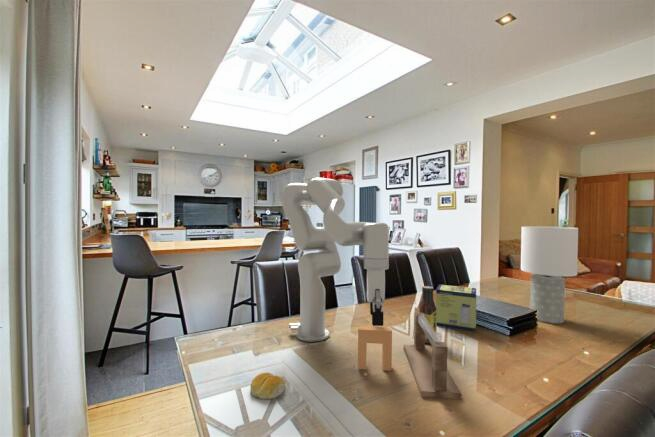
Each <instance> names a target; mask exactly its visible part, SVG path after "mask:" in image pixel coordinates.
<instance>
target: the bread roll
mask: <svg viewBox="0 0 655 437" xmlns="http://www.w3.org/2000/svg"><path fill="white" fill-rule="evenodd" d="M285 389H286V382H285V380H284V378H283V377H281V376H279V375H277V374H276V375H274V374H272V373H270V372H262V373H260V374H258V375H255V377H254V378H253V379H252V381H251V384H250V392H251V394H252V395H253V396H254V397H256V398H260V399H261V400H273V399H276V398H277V397H279V396H280V395H282V394H283V393H284V391H285Z"/></svg>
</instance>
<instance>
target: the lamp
mask: <svg viewBox="0 0 655 437" xmlns="http://www.w3.org/2000/svg"><path fill="white" fill-rule="evenodd" d="M520 234H521V236H520V239H521V240H520V270H521V272H525V273H529V274H532V275H531V276H530V287H529V290H530V292H529V293H530V294H529V296H530V297H529V301H530V302H529V310H530V309H533V310H537V319H538V321H539V322H541V323H545V324H546V323H547V324H554V325H555V324H556V325H560V324H561V325H562V324H563V323H564V322H565V304H566V303H565V298H566V297H565V295H566V279H565V278H564V277H576V276H578V252H579V227H569V226H567V227H566V226H545V225H544V226H541V225H540V226H539V225H538V226H535V225H533V226H531V225H529V226H528V225H527V226H526V225H524V226H521V233H520ZM538 321H537V322H538Z"/></svg>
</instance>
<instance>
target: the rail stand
mask: <svg viewBox="0 0 655 437" xmlns="http://www.w3.org/2000/svg"><path fill="white" fill-rule="evenodd" d="M413 330H414V331H413V334H414V335H413V344H403V351H404V355H405V357H406V359H407V362H408V365H409V367H410V368H409V369H410V371H411V373H412V375H413V379H414V382H415V384H416V387H417V389H418V392H419V395H420V397H421V398H436V399H450V400H451V399H452V400H455V399H456V400H462V392H461V390H460V389H459V387H458V385H457V383H456V382H455V380H454V379H453V377H452V376H451V373H450V372H449V370H448V346H447V344H446V343H445V342H444V341H442V340H441V339H440V337H439V335H438V334H437V331H436V332H435V331H434V330H433V328H432V327H431V325H430V324H429V322H428V321H427V319H426V316H425V314H424V313H419V312H414V329H413ZM425 334H426V336H427V338H428V339H429V341H430V343H429V344H431V345H426V343H425Z"/></svg>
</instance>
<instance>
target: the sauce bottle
mask: <svg viewBox="0 0 655 437" xmlns="http://www.w3.org/2000/svg"><path fill="white" fill-rule="evenodd" d="M434 290H435V288H434V287H433V286H430V285H425V286H422V287H421V291H422V298H421V301H420V303H419V305H418V306H419V307H418V308H419V310H418V311H419V312H418V313H424V314H425V316H426V319H427V321H428V322H429V324H430V325H431V327H432V328H433V330H434V331H435V332H436V333H437V327H438V326H437V309H436V302H435V301H434ZM425 344H431V343H430V341H429V339H428V338H427V336H426V334H425Z"/></svg>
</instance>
